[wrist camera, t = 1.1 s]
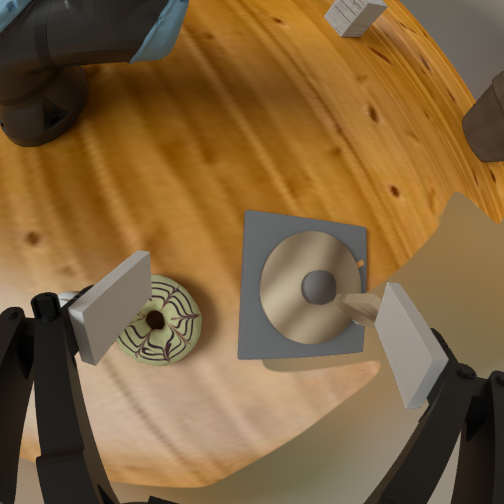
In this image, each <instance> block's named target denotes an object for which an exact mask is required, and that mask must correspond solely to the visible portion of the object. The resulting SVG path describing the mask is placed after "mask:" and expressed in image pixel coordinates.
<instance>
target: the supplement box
mask: <svg viewBox="0 0 504 504" xmlns="http://www.w3.org/2000/svg"><path fill="white" fill-rule="evenodd" d="M387 7H388V6H387V5H386V4H385V3H384V2H383V1H382V0H335V2H334V3H333V5H332V6H331V7H330V9H329V10H328V11H327V13H326V14H325V16H324V18H325V19H326V20H327V21H328V23H329V24H330V25H331V26H332V27H333V28H334V29H335V31H336V32H337V33H338V34H339V35H340V36H341V37H361V35H362V34H363V33H364V32H365V31H366V30H367V29H368V28H369V27H370V25H371V24H372V23H373V22H374V21H375V20H376V19H377V18H378V17H379V16H380V15H381V14H382V13H383V11H384V10H385V9H386V8H387Z"/></svg>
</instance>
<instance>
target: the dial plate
mask: <svg viewBox="0 0 504 504" xmlns="http://www.w3.org/2000/svg"><path fill="white" fill-rule="evenodd" d="M305 231H318V232H323V233H326V234H329V235H331V236H333V237H335V238H336V239H337V240H339V241H340V242H341V243H342V244H344V245H345V246H346V248H347V249H348V250H349V251H350V253H351V254H352V256H353V258H354V260H355V262H356V264H357V267H358V270H359V274H360V280H361V294H364V293H366V268H367V254H366V227H361V226H354V225H348V224H342V223H336V222H329V221H323V220H316V219H309V218H302V217H295V216H288V215H281V214H274V213H266V212H258V211H251V210H246V211H245V217H244V235H243V255H242V274H241V295H240V316H239V338H238V359H239V360H246V359H280V358H300V357H315V356H327V355H339V354H349V353H358V352H363V342H364V327H365V326H361V325H360V324H359V323H357V322H356V321H354V320H353V319H352V321H351V322H350V324H349V325H348V326H347V327H346V328H345V329H344V331H343V332H341V333H340V334H339V335H338V336H336V337H334V338H333V339H331V340H329V341H326V342H323V343H319V344H303V343H299V342H296V341H293V340H290V339H288V338H286V337H284V336H283V335H282V334H280V333H279V332H278V331H277V330H276V329H275V328H274V327H273V326H272V325H271V324H270V322H269V321H268V319H267V317H266V316H265V313H264V311H263V308H262V305H261V301H260V295H259V282H260V275H261V271H262V268H263V265H264V263H265V261H266V259H267V257H268V255H269V254H270V253H271V251H272V250H273V249H274V248H275V247H276V246H277V245H278V244H279V243H280V242H281V241H283V240H284V239H286V238H288V237H290V236H292V235H295V234H297V233H301V232H305Z"/></svg>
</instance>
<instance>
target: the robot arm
mask: <svg viewBox="0 0 504 504" xmlns="http://www.w3.org/2000/svg"><path fill="white" fill-rule="evenodd" d="M188 4H189V0H0V125H1V128H2V130H3V132H4V133H5V135H6V136H7V137H8V138H9V139H10V140H11V141H12V142H13V143H15V144H17V145H19V146H25V147H31V146H37V145H41V144H44V143H46V142H48V141H50V140H52V139H54V138H56V137H57V136H59V135H60V134H62V133H63V132H64V131H65V130H67V129H68V128H69V127H70V126H71V125H72V124H73V123H74V122H75V120H76V119H77V118H78V117H79V115H80V114H81V112H82V110H83V108H84V106H85V104H86V101H87V98H88V92H89V88H88V82H87V79H86V75H85V73H84V71H83V69H82V68H81V67H80V66H81V65H91V64H102V63H117V62H127V63H129V64H131V63H134V62H135V61H153V60H160V59H162V58H164V57H166V56H167V55H168V54H169V53H170V52H171V51H172V49H173V47H174V45H175V43H176V40H177V37H178V35H179V32H180V29H181V26H182V23H183V20H184V17H185V14H186V11H187V8H188ZM151 296H152V286H151V268H150V252H146V251H139V250H138V251H136V252H135V253H134V254H133V255H131V256H130V257H129V258H128V259H126V260H125V261H124V262H122V263H121V264H120V265H119V266H117V267H116V268H115V269H114V270H113V271H111V272H110V273H109V274H108V275H106V276H105V277H104V278H103V279H102V280H100V281H99V282H98V283H97V284H96V285H91V286H89V287H86V288H84V289H83V290H81V291H80V292H79V293H78V295H75V296H74V297H73V299H71V300H69V301H68V302H67V303H66V304H65V305H64V306H62V307H61V306H60V302H59V298H58V295H57V294H55V293H51V292H45V293H41V294H38V295H36V296H35V297H34V298H33V299H32V300H31V306H32V309H33V313H34V316H35V318H26V317H25V314H24V311H23V309H22V308H20V307H10V308H7V309H6V310H4V311H3V312H2V313H1V314H0V504H14V501H15V494H16V484H17V472H18V462H19V454H20V446H21V439H22V433H23V427H24V422H25V417H26V412H27V407H28V402H29V398H30V394H31V390H32V385H33V382H34V391H35V407H36V418H37V427H38V435H39V442H40V449H41V456H39V457H37V458H36V466H37V472H38V477H39V482H40V487H41V491H42V495H43V499H44V503H45V504H120V503H119V501H118V499H117V497H116V495H115V494H114V492H113V490H112V488H111V486H110V483H109V480H108V478H107V475H106V472H105V470H104V467H103V464H102V461H101V458H100V455H99V452H98V449H97V446H96V443H95V440H94V436H93V433H92V429H91V426H90V422H89V419H88V415H87V411H86V407H85V403H84V398H83V394H82V389H81V385H80V380H79V375H78V369H77V364H76V360H75V357H74V356H75V355H76V353H77V352H78V351H79V353H80V356H81V360H82V361H83V362H86V363H89V364H92V365H95V366H96V365H97V363H98V362H99V361H100V360H101V358H102V357H103V356H104V354H105V353H106V352H107V351H108V349H109V348H110V347H111V345H112V344H113V343H114V342H115V340H116V339H117V338H118V337H119V335H120V334H121V333H122V332H123V330H124V329H125V328H126V327H127V325H128V324H129V323H130V322H131V320H132V319H133V318H134V317H135V316H136V314H137V313H138V312H139V311H140V309H141V308H142V307H143V306H144V305H145V303H146V302H147V301H148V300H149V299H150V297H151ZM374 325H375V327H376V330H377V332H378V334H379V337H380V339H381V342H382V345H383V347H384V350H385V353H386V355H387V358H388V361H389V363H390V366H391V369H392V371H393V374H394V377H395V380H396V382H397V385H398V388H399V391H400V394H401V397H402V400H403V403H404V406H405V409H415V408H421V406H422V405H423V403H424V402H425V400H426V399H427V400H428V403H429V406H428V408H427V409H426V411H425V412H424V414H423V415H422V417H421V418H420V420H419V424H418V425H417V427H416V429H415V431H414V432H413V434H412V436H411V437H410V439H409V441H408V442H407V444H406V445H405V447H404V449H403V450H402V452H401V453H400V455H399V456H398V458H397V459H396V461H395V462H394V464H393V465H392V467H391V468H390V470H389V471H388V472H387V474H386V475H385V477H384V478H383V479H382V481H381V482H380V483H379V485H378V486H377V487H376V488H375V490H374V491H373V492H372V494H371V495H370V496H369V497H368V499H367V500H366V501H365V503H364V504H427V502H428V500H429V498H430V497H431V495H432V493H433V491H434V489H435V487H436V486H437V484H438V481H439V480H440V478H441V475H442V473H443V471H444V469H445V467H446V465H447V463H448V461H449V458H450V456H451V454H452V451H453V449H454V446H455V444H456V442H457V439H458V436H459V434H460V431H461V441H460V450H459V458H458V466H457V473H456V478H455V484H454V490H453V495H452V499H451V504H504V372H501V371H493V372H492V373H491V375H490V376H489V378H488V379H484V378H479V377H477V375H476V373H475V371H474V370H473V369H472V368H471V367H469V366H468V365H465V364H462V363H458V361H457V359H456V358H455V356H454V355H453V354H452V351H451V350H450V348H448V345H447V344H446V342H445V340H444V339H443V337H442V336H441V334H440V333H438V332H437V331H436V330H435V329H433V328H429V327H428V325H427V323H426V322H425V320H424V319H423V317H422V316H421V314H420V313H419V311H418V310H417V308H416V307H415V305H414V304H413V302H412V301H411V299H410V298H409V296H408V295H407V293H406V292H405V291H404V289H403V288H402V286H401V285H400V283H392V282H387V285H386V288H385V292H384V295H383V299H382V302H381V305H380V308H379V311H378V314H377V317H376V320H375V324H374ZM122 504H178V503H174V502H170V501H167V500H163V499H160V498H156V497H153V496H150V498H149V500H148V502H128V503H122Z"/></svg>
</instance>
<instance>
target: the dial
mask: <svg viewBox="0 0 504 504" xmlns="http://www.w3.org/2000/svg"><path fill="white" fill-rule="evenodd" d="M259 295H260V301H261V305H262V308H263V311H264V313H265V316H266V317H267V319H268V321H269V322H270V324H271V325H272V326H273V327H274V328H275V329H276V330H277V331H278V332H279V333H280V334H282V335H283V336H284V337H286V338H288V339H290V340H293V341H296V342H299V343H303V344H319V343H323V342H326V341H329V340H331V339H333V338H334V337H336V336H338V335H339V334H340V333H341V332H343V331H344V329H345V328H346V327H347V326H348V325H349V324H350V322H351V321H352V319H353V320H354V321H356V322H357V323H359V324H360V325H361V326H368V327H375V325H374V324H375V320H376V317H377V314H378V311H379V308H380V305H381V302H382V300H381V299H380V298H379V297H378V296H376V295H375V294H374V293H370V294H369V293H364V294H361V280H360V274H359V270H358V267H357V264H356V262H355V260H354V258H353V256H352V254H351V253H350V251H349V250H348V249H347V248H346V246H345V245H344V244H342V243H341V242H340V241H339V240H337V239H336V238H335V237H333V236H331V235H329V234H326V233H323V232H318V231H305V232H301V233H297V234H295V235H292V236H290V237H288V238H286V239H284V240H283V241H281V242H280V243H279V244H278V245H277V246H276V247H275V248H274V249H273V250H272V251H271V253H270V254H269V255H268V257H267V259H266V261H265V263H264V265H263V268H262V271H261V275H260V282H259ZM375 328H376V327H375Z"/></svg>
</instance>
